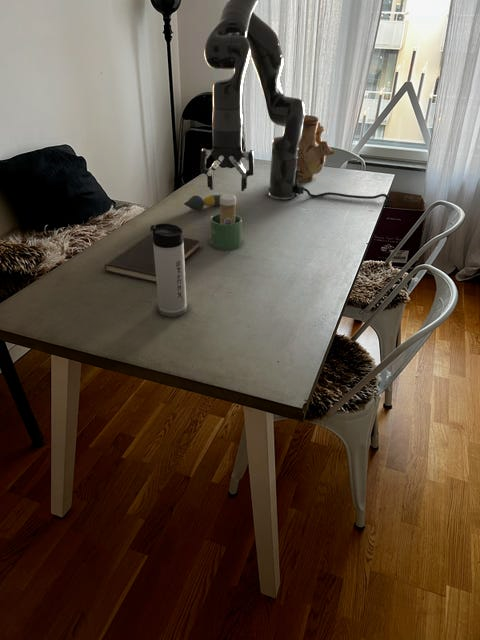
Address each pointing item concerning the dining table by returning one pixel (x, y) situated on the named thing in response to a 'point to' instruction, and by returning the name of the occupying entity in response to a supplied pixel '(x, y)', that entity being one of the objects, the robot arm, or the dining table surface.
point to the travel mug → (169, 269)
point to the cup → (225, 233)
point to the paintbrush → (203, 201)
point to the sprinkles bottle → (227, 209)
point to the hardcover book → (143, 259)
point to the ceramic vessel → (311, 149)
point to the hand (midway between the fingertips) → (227, 189)
